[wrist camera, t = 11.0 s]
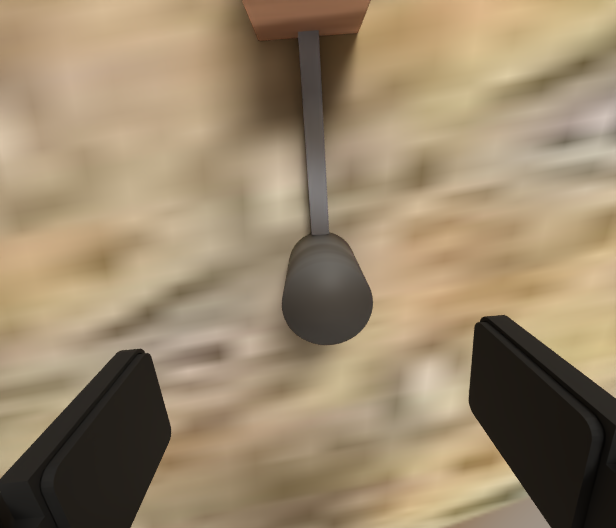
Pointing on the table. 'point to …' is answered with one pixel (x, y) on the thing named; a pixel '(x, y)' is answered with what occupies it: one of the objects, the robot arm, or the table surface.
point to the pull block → (317, 180)
